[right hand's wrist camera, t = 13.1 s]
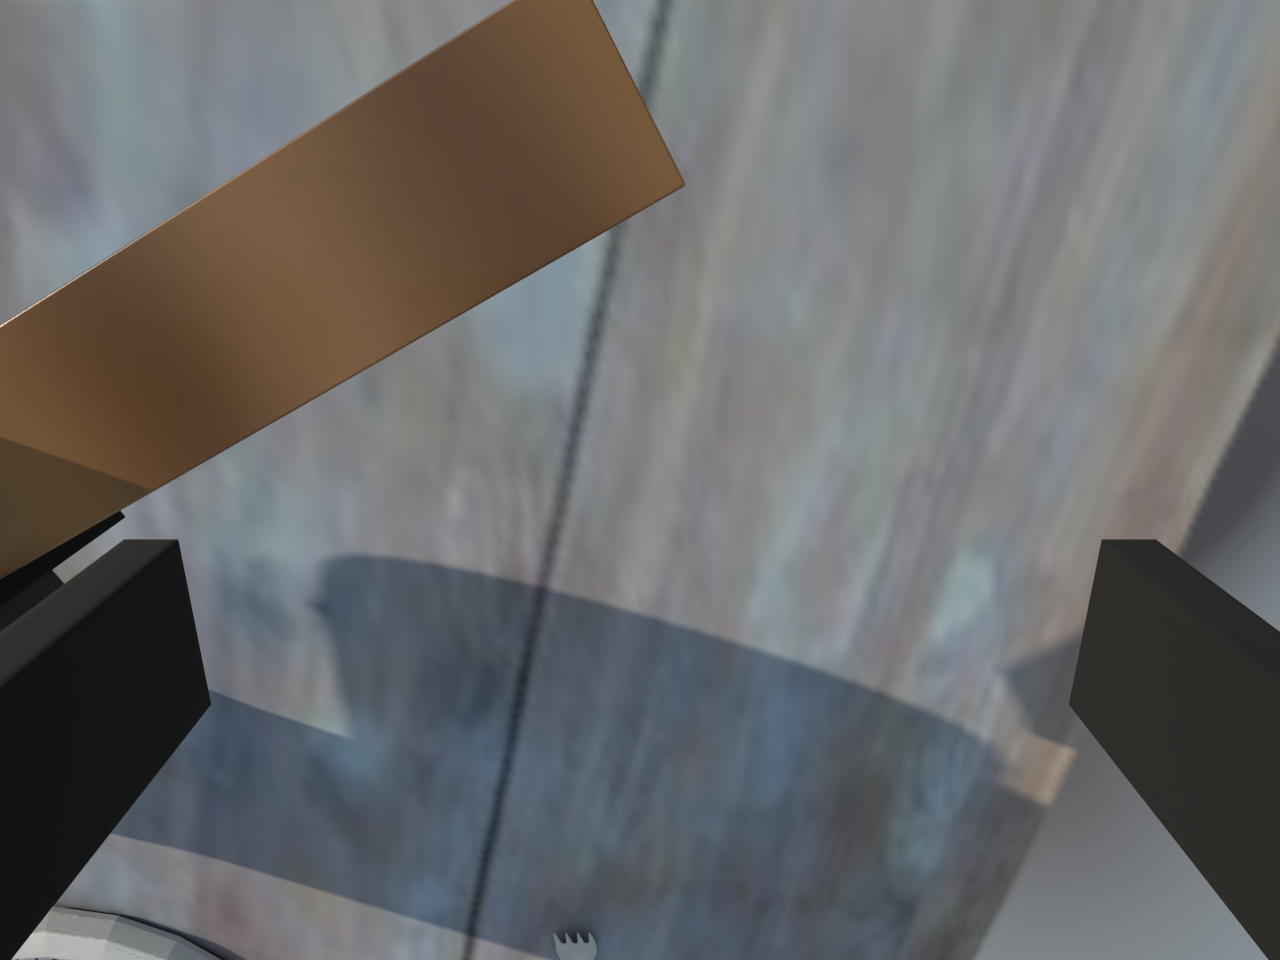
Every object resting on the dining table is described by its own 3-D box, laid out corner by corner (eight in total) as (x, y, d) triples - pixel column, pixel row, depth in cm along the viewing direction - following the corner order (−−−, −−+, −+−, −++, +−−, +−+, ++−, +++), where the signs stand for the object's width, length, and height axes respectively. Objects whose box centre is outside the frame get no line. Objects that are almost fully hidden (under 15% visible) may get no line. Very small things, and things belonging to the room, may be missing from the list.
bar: (590, 21, 26) (573, -39, 18) (669, 177, 27) (686, 185, 19) (-74, 432, 30) (-327, 531, 22) (27, 548, 31) (-176, 680, 23)
